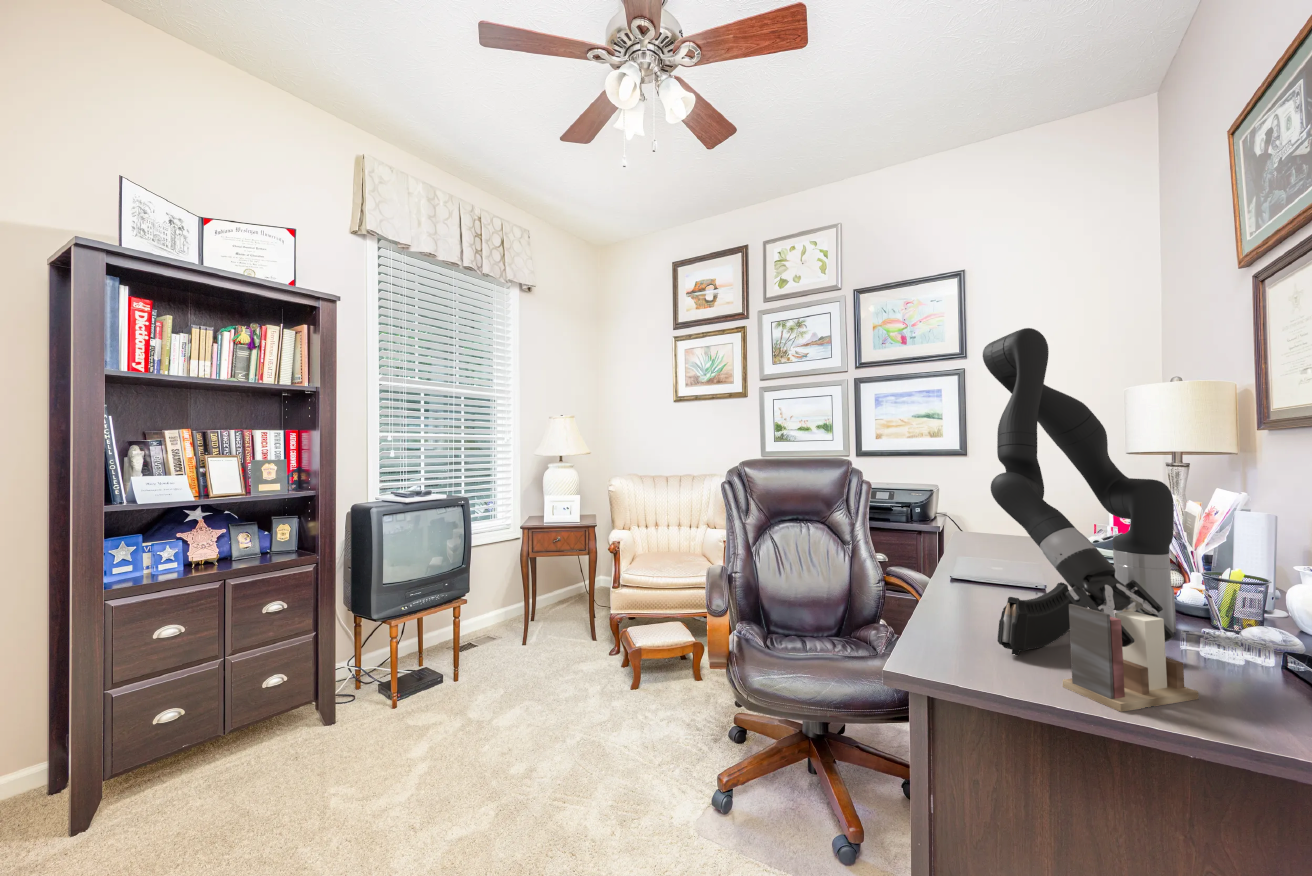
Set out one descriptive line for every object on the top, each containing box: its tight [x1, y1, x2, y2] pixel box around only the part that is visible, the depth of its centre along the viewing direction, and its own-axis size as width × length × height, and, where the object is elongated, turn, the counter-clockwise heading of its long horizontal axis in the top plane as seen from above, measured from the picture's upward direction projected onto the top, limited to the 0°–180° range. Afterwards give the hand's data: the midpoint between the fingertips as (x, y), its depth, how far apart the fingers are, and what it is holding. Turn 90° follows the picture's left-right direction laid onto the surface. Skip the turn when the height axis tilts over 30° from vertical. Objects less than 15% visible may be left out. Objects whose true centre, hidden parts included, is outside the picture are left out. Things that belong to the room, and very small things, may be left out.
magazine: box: [997, 582, 1074, 656], centre depth 110 cm, size 17×3×30 cm
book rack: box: [1062, 604, 1199, 713], centre depth 86 cm, size 16×9×14 cm, turn 103°
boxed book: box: [1114, 611, 1167, 690], centre depth 87 cm, size 4×4×11 cm
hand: (1149, 642), depth 86 cm, fingers open, 8 cm apart
